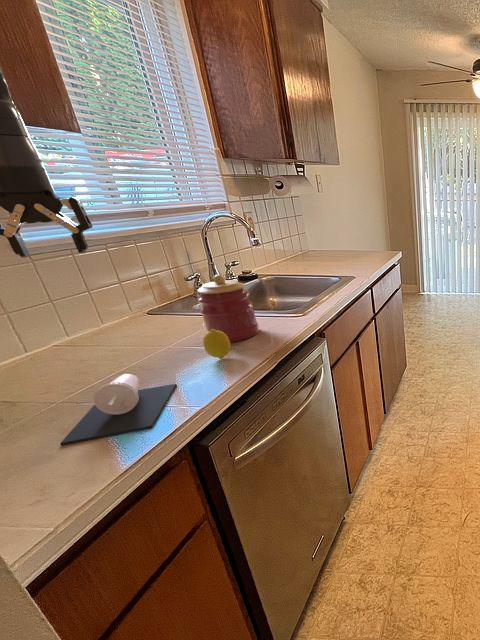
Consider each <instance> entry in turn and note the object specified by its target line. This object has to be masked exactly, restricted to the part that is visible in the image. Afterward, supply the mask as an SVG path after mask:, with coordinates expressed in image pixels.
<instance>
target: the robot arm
mask: <svg viewBox="0 0 480 640" xmlns="http://www.w3.org/2000/svg"><path fill="white" fill-rule="evenodd" d="M64 206H65V207H66V208H67V209H69V210H70V211H73V213H74V215H75V218H76V220H77V221H78V223H79V224H77V223H76V222H74V221H72V220H71V218H69V217H68V216H66V215H65V214H64V213H62V212H61V210H62V208H63V207H64ZM0 208H2V209H3V210H5V211H7V212H8V213H9V214H11V215H10V216H9V218H8V221H7V225H6V226H5V227H3V225H2V222H1V221H0V236H3V237H5V238H6V239H7V242H8V243H9V245H10V248H11V249H12V251H13V253H14V254H15V255H19V256H20V258H27V257H30V256H31V255H30V252H29V250H28V248H27V246H26V244H25V243H26V242H25V241H24V239H23V238H22V236H21V235H19V234H20V232H21V230H22V228H23V227H24V226H25V224H36V223H44V224H45V223H53V222H54V223H56V224H58V225H60V226H61V227H63V228H65V229H67V230H68V231H70V232H71V234H70V236H71V239H72V241H73V243H74V246H75V248H76V250H77V252H78V253H79V254H83V253H86V252H87V250H88V249H89V245H88V242H87V240H86V237H85V235H84V232H86V231H87V230H90V229H93V224H92V221H91V220H90V217H89V215H88V213H87V211H86V209H85V207H84V205H83V203H82V201H81V199H80V198H79V197H73V196H72V197H69V198H60V197H59V196H58V195H57V193H56V191H55V189H54V186H53V185H52V182H51V179H50V176H49V175H48V172H47V170H46V168H45V165H44V161H43V159H42V158H41V156H40V154H39V152H38V149H37V147H36V146H35V144H34V143H33V141H32V139H31V137H30V134H29V132H28V130H27V127H26V125H25V123H24V121H23V118H22V116H21V114H20V112H19V110H18V109H17V107H16V105H15V104H14V101H13V98H12V95H11V92H10V89H9V85H8V83H7V80H6V78H5V75H4V73H3V70H2V67H1V66H0Z"/></svg>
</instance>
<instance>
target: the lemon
mask: <svg viewBox="0 0 480 640" xmlns="http://www.w3.org/2000/svg"><path fill="white" fill-rule="evenodd" d="M202 343H203V346H204V350H205V352H206V353H207V355H208V356H211V357H213V358H217V359H219V360H224V358H225V357H226V356H227V355H228V354H229V353H230V351H231V348H232V347H231V346H232V345H231V342H230V340H229V338H228V337H227V335H226V334H225V333H224V332H222V331H219V330H215V329H211V331H209V332H208V333H207V332H206V333H205V334H204V336H203V342H202Z"/></svg>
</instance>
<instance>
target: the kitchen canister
mask: <svg viewBox="0 0 480 640" xmlns="http://www.w3.org/2000/svg"><path fill="white" fill-rule="evenodd" d="M197 293H199V295H198V297H197V298H196V302H197V303H199V305H200V311H199V312H200V314H201V316H202V320H203V322H204V325H205V328H206V333H208V332H209V331H211V329H215V330H219V331H222V332H224V333H225V334H226V335H227V337H228V338H229V340H230V343H232V342H233V343H234V342H238V341H243V340H246V339H250V338H251V337H254V336H255V335H257V334H258V333H259V326H260V325H259V322H258V321H257V317H256V314H255V310H254V304H253V302H252V301H251V299H250V295H251V292H250V291H249V290H247V289H245V284H244V283H242V282H240V281H238V280H236V279H225V277H224V276H223V275H222V274H215V275H214V276H213V281H210V282H206V283H203V284H202V285H201V287H199V288H198V289H197Z"/></svg>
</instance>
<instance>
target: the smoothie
mask: <svg viewBox="0 0 480 640" xmlns="http://www.w3.org/2000/svg"><path fill="white" fill-rule="evenodd" d="M139 387H140V379H139V377H137V376H136V375H135V374H131V373H123V374H120V375H119V376H117V377H116V378H114V379H113V380H112V381H110V382H107V383H105V384H102V385H101V386H100V387H98V388H97V390H96V391H95V393H94V395H93V404H94V405H95V406H96V407H97V408H98V409H99V410H101V411H102V412H104V413H107V414H112V415H119V414H124V413H127V412H129V411H131V410H132V409H133V408H134V407H135V406H136V405H137V403H138V400H139V395H138V390H139V389H140V388H139Z"/></svg>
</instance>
